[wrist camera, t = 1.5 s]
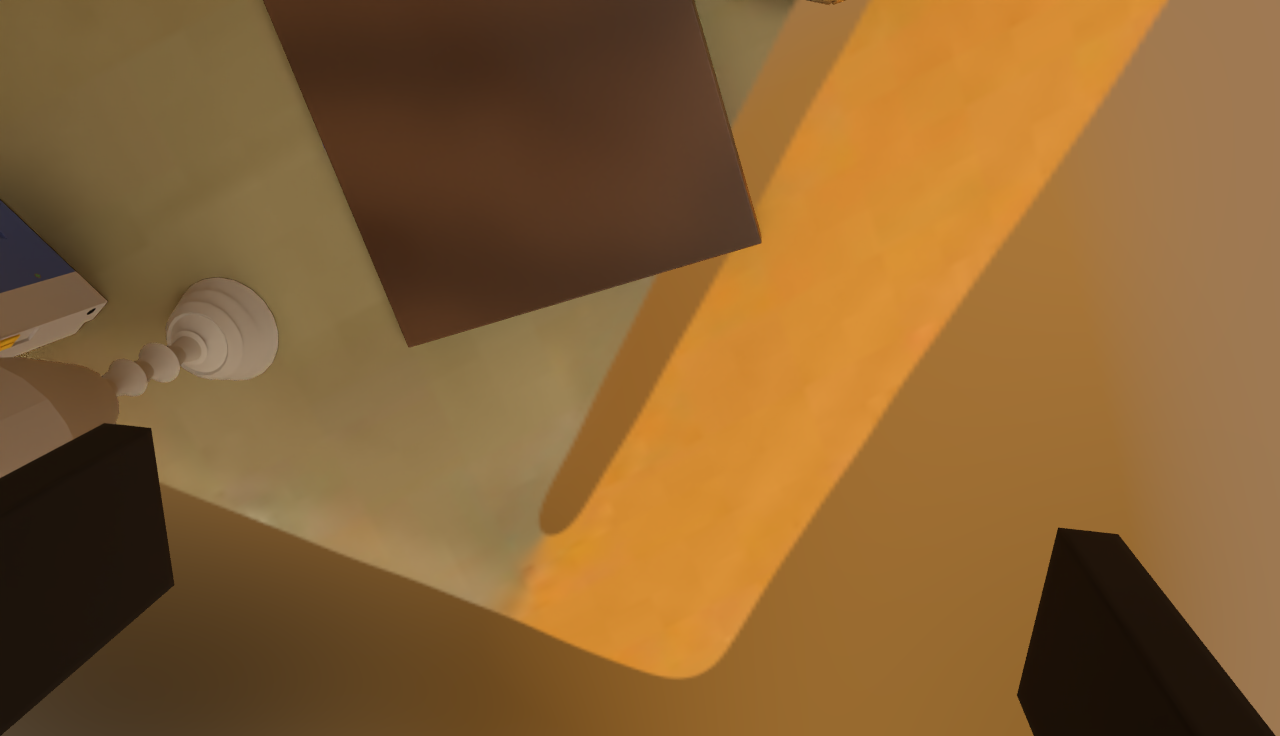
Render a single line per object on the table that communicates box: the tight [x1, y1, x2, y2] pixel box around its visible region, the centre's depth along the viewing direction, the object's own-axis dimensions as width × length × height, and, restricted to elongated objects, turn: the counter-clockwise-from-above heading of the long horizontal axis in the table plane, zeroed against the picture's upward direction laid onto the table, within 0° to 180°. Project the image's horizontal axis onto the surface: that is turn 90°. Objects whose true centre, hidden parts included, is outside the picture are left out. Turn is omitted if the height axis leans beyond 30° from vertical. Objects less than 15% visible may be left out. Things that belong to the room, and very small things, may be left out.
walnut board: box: [263, 0, 761, 347], centre depth 33 cm, size 22×16×2 cm
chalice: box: [0, 277, 278, 478], centre depth 32 cm, size 7×7×18 cm
